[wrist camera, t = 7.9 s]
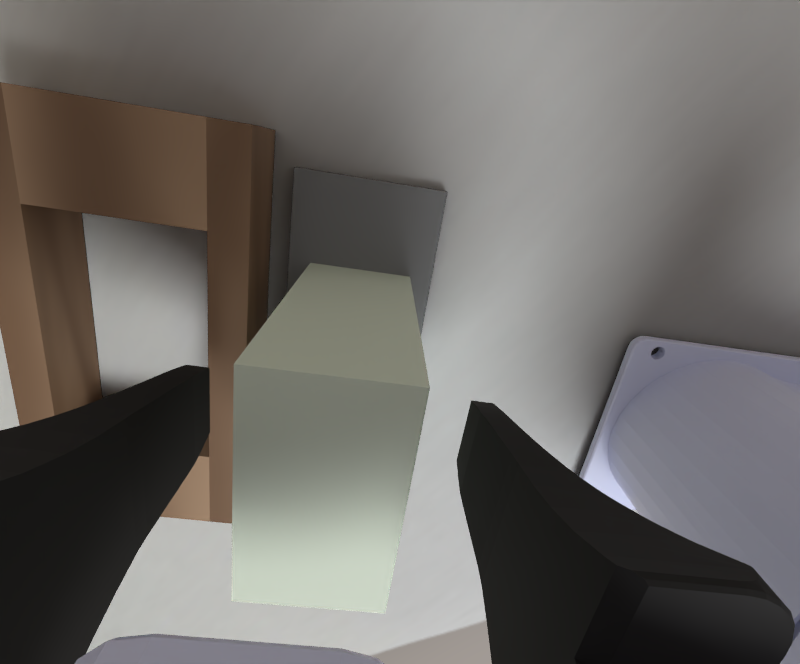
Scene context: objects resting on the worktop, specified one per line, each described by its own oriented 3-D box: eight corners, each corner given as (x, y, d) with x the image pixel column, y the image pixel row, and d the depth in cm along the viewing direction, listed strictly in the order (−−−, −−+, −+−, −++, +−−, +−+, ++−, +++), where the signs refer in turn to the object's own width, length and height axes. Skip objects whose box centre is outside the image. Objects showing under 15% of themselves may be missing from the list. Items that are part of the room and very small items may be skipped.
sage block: (409, 276, 15) (429, 387, 8) (386, 420, 18) (384, 613, 10) (310, 262, 15) (233, 363, 8) (299, 410, 17) (231, 601, 10)
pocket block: (275, 130, 14) (252, 124, 12) (259, 479, 19) (241, 524, 17) (27, 88, 13) (-50, 73, 11) (79, 460, 18) (35, 504, 16)
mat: (445, 191, 15) (447, 192, 14) (393, 475, 19) (393, 481, 19) (296, 167, 14) (294, 167, 14) (278, 462, 19) (276, 469, 18)
